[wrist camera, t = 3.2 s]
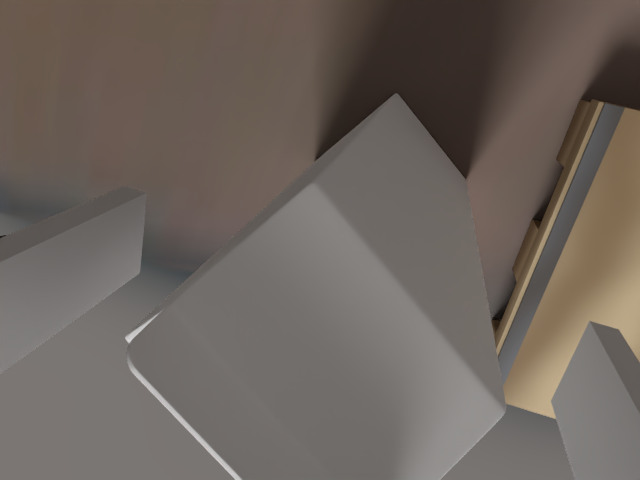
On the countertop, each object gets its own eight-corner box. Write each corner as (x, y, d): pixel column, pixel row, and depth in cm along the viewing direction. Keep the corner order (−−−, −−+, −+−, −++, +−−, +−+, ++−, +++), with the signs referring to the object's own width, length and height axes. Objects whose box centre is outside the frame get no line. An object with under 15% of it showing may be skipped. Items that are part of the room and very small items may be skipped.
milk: (397, 91, 27) (259, 225, 6) (468, 181, 27) (548, 556, 7) (311, 164, 29) (10, 433, 9) (379, 245, 30) (248, 666, 9)
